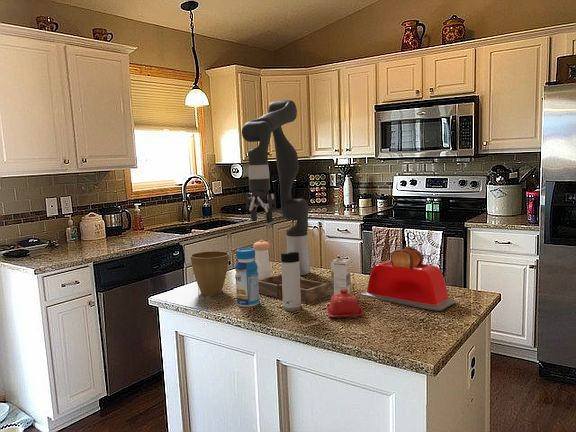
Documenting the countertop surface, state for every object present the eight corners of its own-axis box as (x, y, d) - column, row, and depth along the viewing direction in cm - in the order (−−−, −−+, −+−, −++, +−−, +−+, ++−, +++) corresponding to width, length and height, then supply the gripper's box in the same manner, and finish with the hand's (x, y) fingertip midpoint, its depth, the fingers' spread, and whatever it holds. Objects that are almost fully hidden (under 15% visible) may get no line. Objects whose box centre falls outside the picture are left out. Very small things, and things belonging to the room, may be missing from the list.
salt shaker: (262, 282, 205) (259, 237, 203) (275, 284, 201) (273, 239, 199) (251, 286, 199) (248, 240, 197) (264, 288, 195) (262, 241, 193)
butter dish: (326, 309, 165) (325, 285, 164) (359, 308, 165) (359, 283, 164) (328, 320, 154) (327, 294, 153) (364, 319, 154) (363, 293, 153)
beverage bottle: (260, 306, 171) (257, 251, 168) (236, 308, 170) (233, 252, 168) (259, 299, 179) (257, 246, 177) (237, 301, 178) (234, 248, 176)
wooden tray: (283, 284, 199) (282, 273, 199) (331, 295, 181) (331, 282, 181) (255, 292, 189) (255, 280, 188) (304, 304, 171) (303, 291, 170)
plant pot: (211, 301, 180) (208, 259, 178) (184, 296, 189) (182, 255, 187) (238, 291, 191) (236, 252, 190) (212, 287, 200) (210, 249, 199)
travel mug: (288, 312, 163) (286, 254, 161) (280, 307, 169) (277, 251, 166) (305, 309, 166) (302, 251, 163) (295, 304, 171) (293, 249, 169)
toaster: (358, 296, 179) (357, 246, 177) (377, 289, 188) (376, 241, 186) (440, 312, 157) (440, 255, 155) (457, 303, 166) (457, 249, 164)
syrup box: (336, 296, 180) (334, 258, 178) (351, 297, 177) (350, 258, 176) (331, 300, 174) (330, 261, 173) (347, 301, 172) (346, 261, 170)
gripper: (280, 176, 172) (282, 221, 174) (254, 177, 183) (257, 219, 185) (264, 178, 167) (266, 224, 169) (238, 178, 178) (241, 221, 180)
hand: (261, 221), depth 177 cm, fingers open, 8 cm apart
